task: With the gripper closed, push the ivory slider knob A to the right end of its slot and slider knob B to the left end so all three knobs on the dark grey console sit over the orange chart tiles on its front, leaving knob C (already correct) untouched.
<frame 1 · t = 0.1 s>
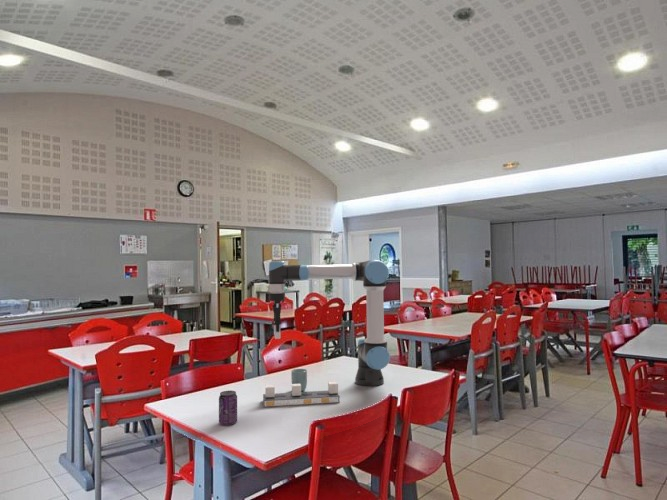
hand: (277, 336, 218), 28 cm above the table, fingers open, 13 cm apart
slider a: (333, 387, 208), point 6 cm above the table, slide at 0.0 cm
beverage can: (228, 423, 177), on the table
cup: (299, 391, 224), on the table
slider c: (269, 391, 203), point 6 cm above the table, slide at 5.0 cm
console: (300, 401, 205), on the table
slider b: (296, 389, 205), point 6 cm above the table, slide at 5.0 cm
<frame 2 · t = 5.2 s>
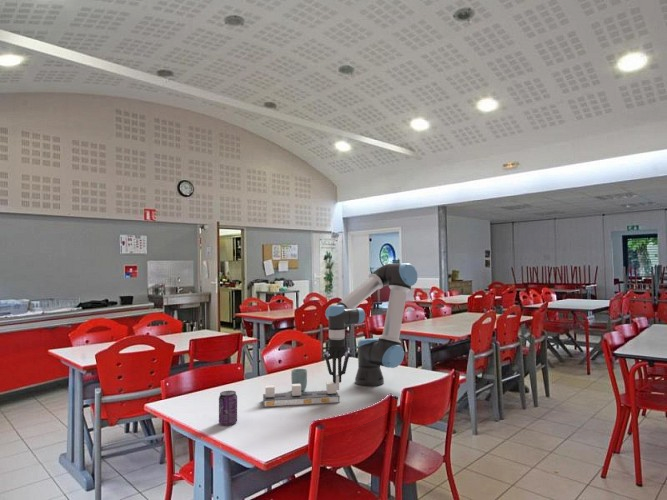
hand: (337, 389, 208), 5 cm above the table, fingers closed
slider a: (331, 387, 207), point 6 cm above the table, slide at 0.9 cm, touching gripper
everything else where it was.
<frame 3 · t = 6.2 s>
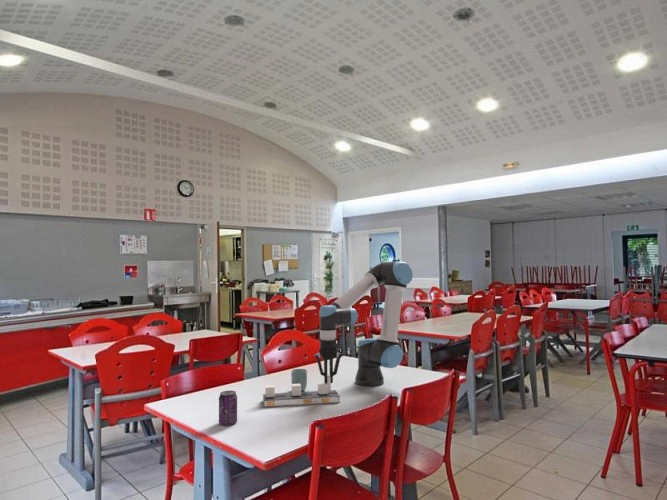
hand: (328, 390, 207), 4 cm above the table, fingers closed
slider a: (322, 388, 207), point 6 cm above the table, slide at 4.8 cm, touching gripper
everything else where it was.
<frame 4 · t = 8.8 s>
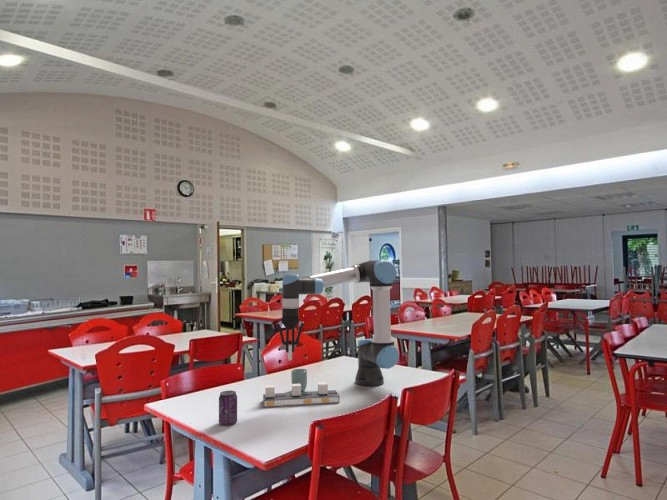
hand: (289, 359, 205), 19 cm above the table, fingers closed
slider a: (322, 388, 207), point 6 cm above the table, slide at 4.9 cm
everything else where it was.
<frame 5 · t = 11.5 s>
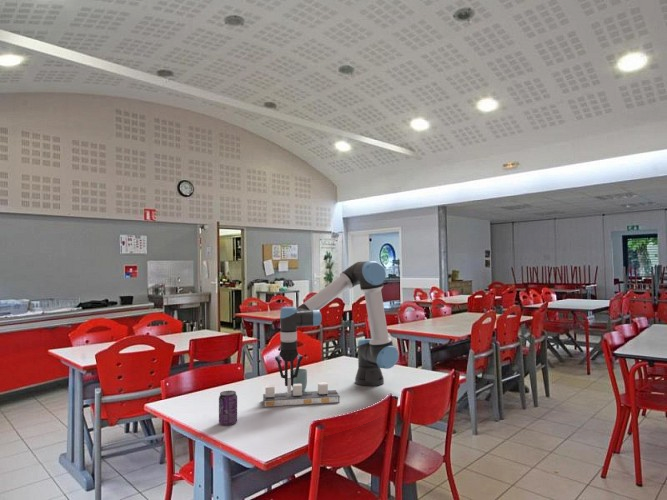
hand: (289, 392, 204), 4 cm above the table, fingers closed
slider b: (297, 389, 205), point 6 cm above the table, slide at 4.6 cm, touching gripper
everything else where it was.
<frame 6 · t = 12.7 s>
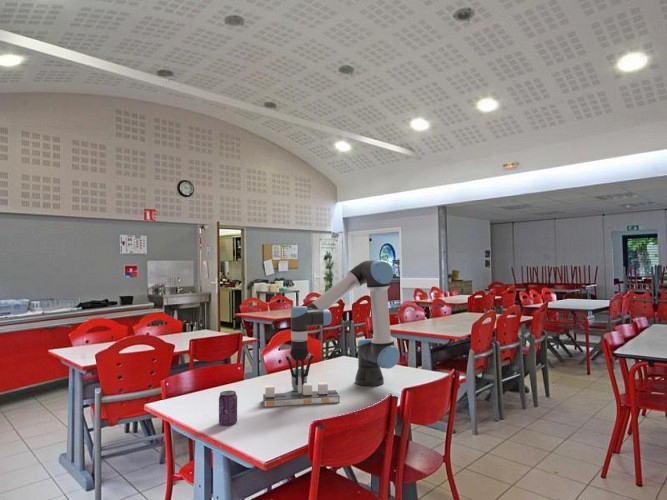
hand: (299, 392, 205), 4 cm above the table, fingers closed
slider b: (307, 389, 206), point 6 cm above the table, slide at 0.0 cm
everything else where it was.
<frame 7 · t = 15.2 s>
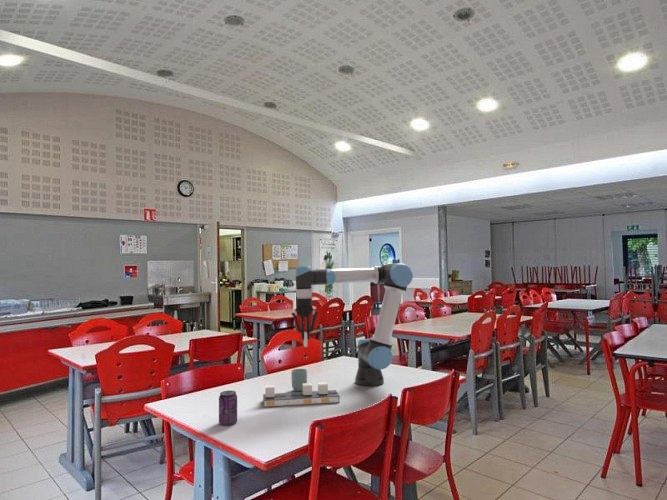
hand: (305, 346, 217), 23 cm above the table, fingers closed
nothing on the table moved.
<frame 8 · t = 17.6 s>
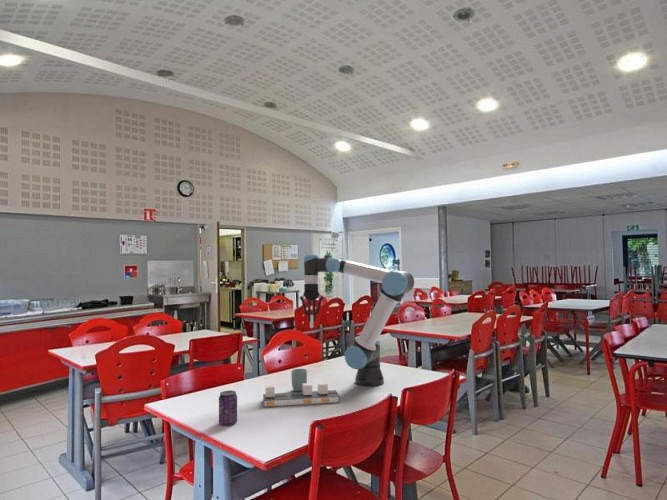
hand: (311, 327, 239), 29 cm above the table, fingers closed
nothing on the table moved.
at the end: slider a slide at 4.9 cm; slider b slide at 0.0 cm; slider c slide at 5.0 cm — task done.
